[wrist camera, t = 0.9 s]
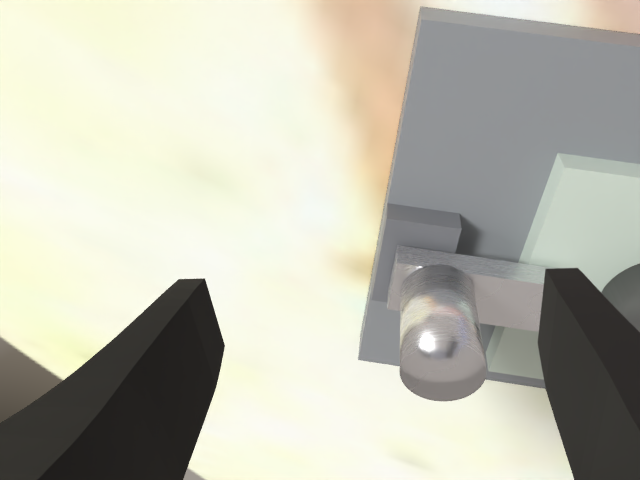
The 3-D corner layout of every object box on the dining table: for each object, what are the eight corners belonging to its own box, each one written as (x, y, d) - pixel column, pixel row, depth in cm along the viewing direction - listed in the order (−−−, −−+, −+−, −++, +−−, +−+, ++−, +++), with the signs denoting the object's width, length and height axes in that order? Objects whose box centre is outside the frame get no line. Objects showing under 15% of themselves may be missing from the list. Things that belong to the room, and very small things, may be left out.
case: (960, 74, 17) (1034, 107, 15) (728, 390, 25) (756, 439, 23) (420, 6, 18) (422, 28, 16) (360, 335, 26) (356, 377, 24)
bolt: (564, 264, 19) (600, 364, 16) (541, 317, 21) (571, 421, 17) (398, 240, 20) (396, 333, 16) (387, 294, 21) (383, 392, 17)
